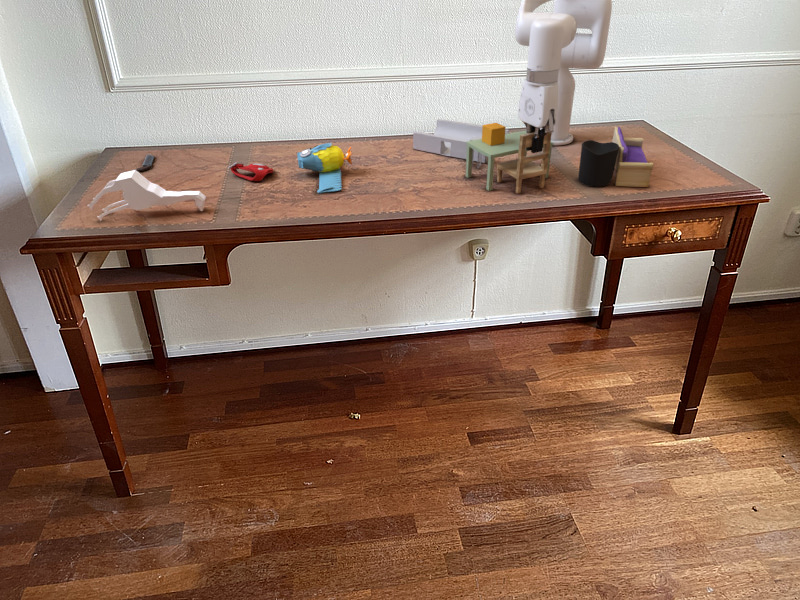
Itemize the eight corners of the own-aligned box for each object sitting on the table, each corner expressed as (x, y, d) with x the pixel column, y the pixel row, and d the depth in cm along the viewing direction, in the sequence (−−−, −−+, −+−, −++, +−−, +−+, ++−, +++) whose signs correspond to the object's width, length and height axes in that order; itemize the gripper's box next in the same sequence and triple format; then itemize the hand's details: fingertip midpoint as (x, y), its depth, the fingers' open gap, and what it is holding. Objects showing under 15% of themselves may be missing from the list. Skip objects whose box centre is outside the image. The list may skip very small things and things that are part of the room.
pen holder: (593, 190, 159) (599, 153, 153) (569, 178, 166) (574, 143, 160) (619, 183, 162) (627, 147, 157) (595, 172, 169) (601, 137, 164)
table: (464, 176, 168) (466, 141, 163) (523, 163, 176) (526, 129, 170) (488, 191, 159) (490, 155, 154) (549, 177, 167) (553, 142, 161)
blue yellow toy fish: (351, 159, 156) (293, 164, 155) (354, 190, 161) (297, 195, 160) (349, 126, 180) (298, 130, 179) (352, 154, 184) (302, 158, 184)
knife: (149, 171, 176) (149, 168, 175) (135, 172, 175) (135, 170, 175) (156, 154, 187) (156, 152, 187) (143, 155, 187) (142, 153, 186)
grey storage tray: (508, 147, 188) (510, 121, 183) (478, 169, 173) (479, 141, 168) (438, 134, 199) (438, 109, 195) (404, 154, 184) (404, 127, 180)
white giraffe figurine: (124, 251, 153) (210, 210, 150) (80, 197, 144) (170, 153, 141) (129, 242, 158) (212, 202, 154) (86, 189, 149) (174, 146, 146)
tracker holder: (271, 163, 176) (276, 167, 167) (270, 179, 177) (275, 183, 168) (228, 159, 172) (231, 162, 163) (227, 175, 173) (230, 179, 164)
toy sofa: (649, 188, 159) (657, 151, 153) (614, 186, 161) (621, 149, 155) (638, 160, 176) (646, 125, 171) (608, 159, 178) (614, 124, 172)
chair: (495, 181, 165) (499, 125, 156) (522, 175, 168) (528, 120, 160) (517, 194, 157) (522, 136, 149) (545, 187, 161) (552, 130, 152)
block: (481, 141, 163) (482, 124, 161) (495, 138, 165) (496, 122, 162) (490, 145, 160) (491, 129, 157) (504, 143, 161) (505, 126, 159)
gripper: (510, 71, 148) (504, 144, 158) (550, 85, 136) (541, 163, 146) (535, 67, 151) (527, 139, 161) (576, 80, 139) (565, 157, 149)
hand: (534, 150), depth 154 cm, fingers closed
